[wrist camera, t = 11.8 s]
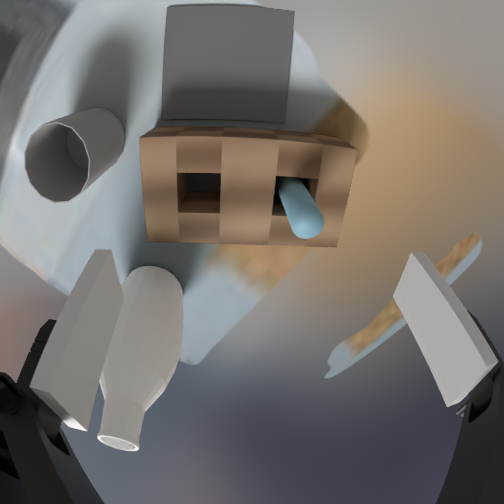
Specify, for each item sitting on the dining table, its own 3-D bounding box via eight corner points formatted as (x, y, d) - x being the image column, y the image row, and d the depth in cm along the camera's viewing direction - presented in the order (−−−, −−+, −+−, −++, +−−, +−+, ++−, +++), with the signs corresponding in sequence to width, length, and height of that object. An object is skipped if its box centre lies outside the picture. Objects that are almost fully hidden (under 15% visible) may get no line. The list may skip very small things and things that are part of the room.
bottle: (129, 311, 46) (92, 450, 25) (113, 257, 40) (48, 411, 19) (192, 313, 47) (179, 464, 26) (185, 257, 41) (156, 432, 20)
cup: (107, 95, 28) (65, 105, 19) (136, 150, 32) (105, 178, 24) (58, 131, 29) (13, 153, 21) (86, 181, 33) (49, 215, 25)
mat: (167, 7, 23) (167, 7, 22) (294, 11, 24) (294, 11, 24) (162, 119, 30) (161, 119, 30) (283, 122, 32) (284, 123, 31)
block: (154, 127, 31) (139, 137, 26) (339, 137, 33) (357, 149, 28) (158, 218, 37) (148, 241, 32) (323, 223, 39) (336, 247, 34)
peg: (275, 165, 34) (293, 207, 24) (299, 168, 35) (327, 209, 25) (272, 188, 36) (288, 237, 26) (296, 190, 36) (320, 239, 26)
